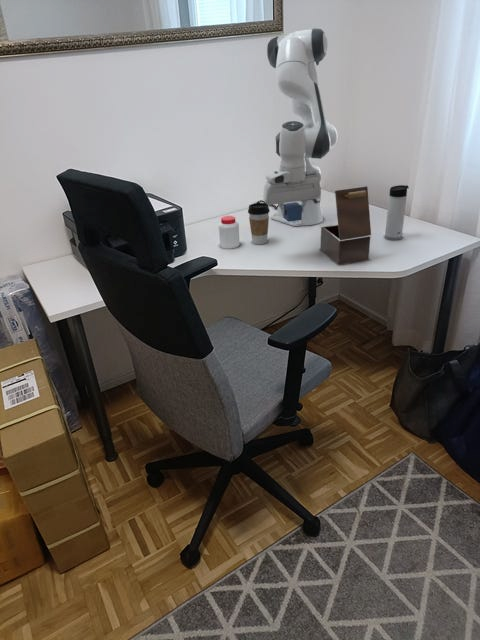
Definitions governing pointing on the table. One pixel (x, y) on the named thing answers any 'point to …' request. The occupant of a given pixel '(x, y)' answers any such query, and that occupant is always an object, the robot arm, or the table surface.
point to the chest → (344, 246)
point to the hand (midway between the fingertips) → (292, 213)
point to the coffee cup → (259, 222)
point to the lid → (353, 213)
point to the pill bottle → (229, 232)
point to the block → (293, 211)
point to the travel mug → (396, 212)
